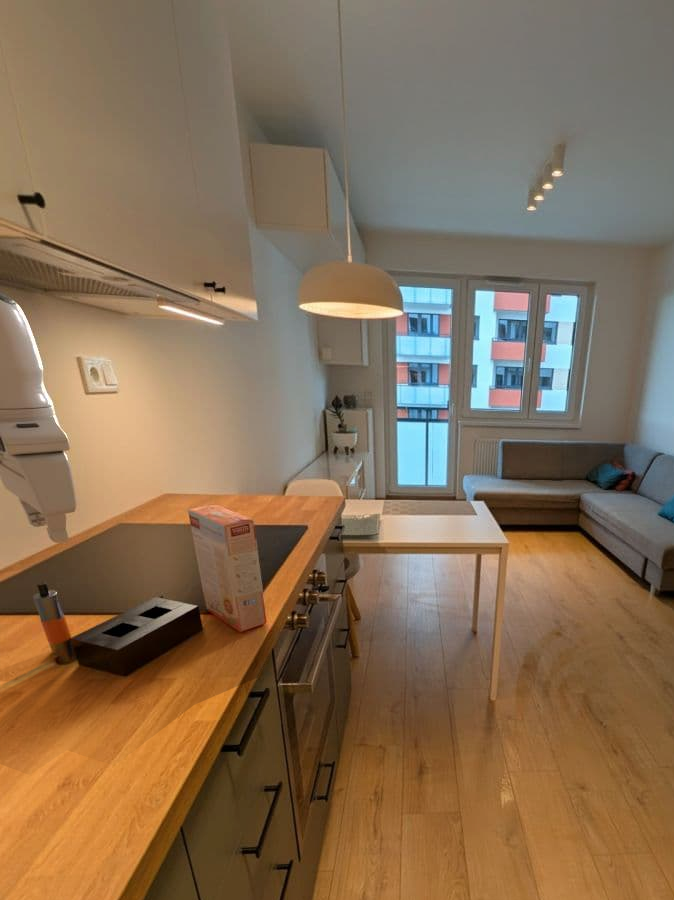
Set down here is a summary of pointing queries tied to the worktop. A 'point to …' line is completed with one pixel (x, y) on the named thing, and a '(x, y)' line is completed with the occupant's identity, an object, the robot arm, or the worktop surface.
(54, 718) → the worktop surface
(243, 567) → the cracker box
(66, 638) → the orange banded battery
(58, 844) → the worktop surface
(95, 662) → the holder
